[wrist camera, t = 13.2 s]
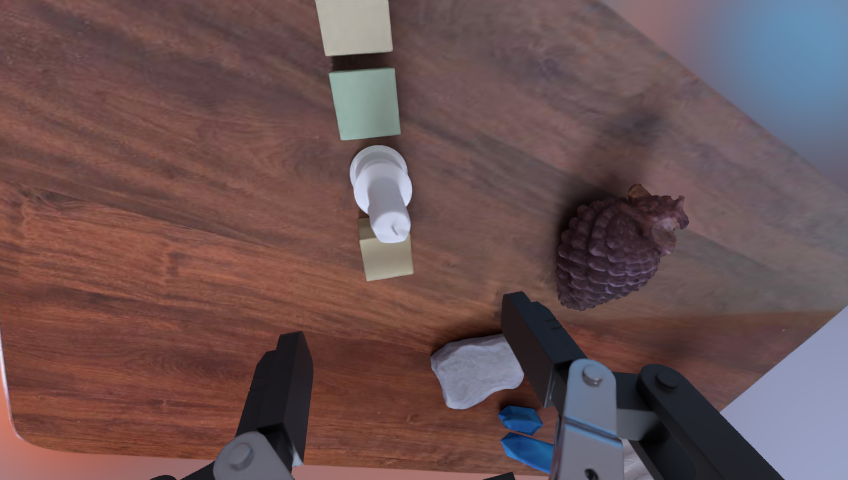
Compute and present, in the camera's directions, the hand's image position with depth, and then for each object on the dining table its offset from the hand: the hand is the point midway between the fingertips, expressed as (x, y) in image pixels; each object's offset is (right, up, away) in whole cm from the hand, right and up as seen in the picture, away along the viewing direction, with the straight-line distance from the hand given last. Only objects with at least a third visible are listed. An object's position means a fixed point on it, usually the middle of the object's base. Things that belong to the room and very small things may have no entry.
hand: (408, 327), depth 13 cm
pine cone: (+19, +4, +26) cm, 32 cm away
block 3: (-4, +4, +21) cm, 21 cm away
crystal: (+16, -25, +42) cm, 51 cm away
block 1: (-5, +20, +11) cm, 24 cm away
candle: (-4, +10, +18) cm, 21 cm away
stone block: (+7, -13, +32) cm, 36 cm away
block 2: (-4, +15, +14) cm, 21 cm away
